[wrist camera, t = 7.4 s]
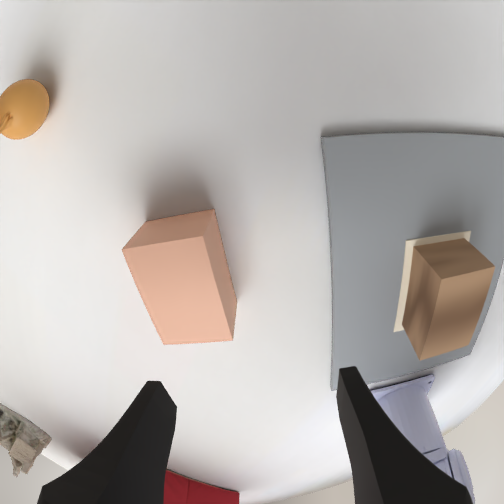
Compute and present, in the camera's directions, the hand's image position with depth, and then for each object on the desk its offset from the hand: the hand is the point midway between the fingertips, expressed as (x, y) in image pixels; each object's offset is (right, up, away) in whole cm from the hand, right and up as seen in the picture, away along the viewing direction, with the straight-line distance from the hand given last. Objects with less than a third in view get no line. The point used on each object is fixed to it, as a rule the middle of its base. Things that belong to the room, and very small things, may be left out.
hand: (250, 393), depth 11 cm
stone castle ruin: (-54, -34, +31) cm, 71 cm away
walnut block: (+14, +3, +8) cm, 16 cm away
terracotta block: (-4, +5, +9) cm, 11 cm away
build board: (+14, +3, +9) cm, 16 cm away
